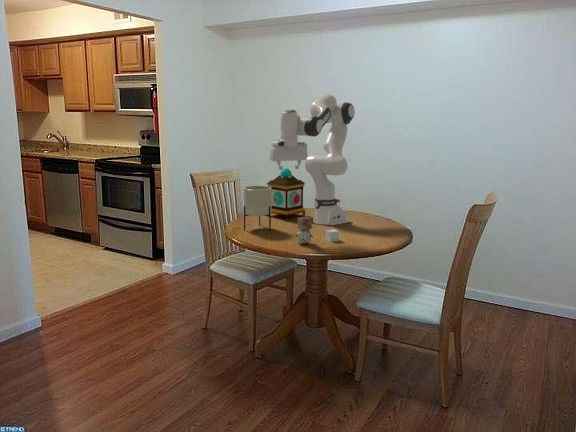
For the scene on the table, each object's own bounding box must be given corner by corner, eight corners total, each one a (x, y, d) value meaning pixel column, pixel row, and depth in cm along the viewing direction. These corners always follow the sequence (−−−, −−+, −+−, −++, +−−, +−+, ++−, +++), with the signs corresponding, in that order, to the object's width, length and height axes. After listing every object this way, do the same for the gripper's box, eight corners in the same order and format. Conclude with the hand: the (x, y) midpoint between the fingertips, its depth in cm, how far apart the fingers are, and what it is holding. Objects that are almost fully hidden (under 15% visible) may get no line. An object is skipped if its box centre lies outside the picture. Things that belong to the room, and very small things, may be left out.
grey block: (333, 238, 239) (334, 229, 238) (338, 240, 234) (339, 231, 233) (325, 239, 237) (325, 230, 235) (330, 242, 232) (330, 232, 231)
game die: (299, 250, 230) (290, 233, 232) (314, 243, 232) (305, 225, 234) (302, 246, 222) (293, 228, 224) (318, 238, 224) (308, 220, 226)
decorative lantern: (263, 216, 289) (262, 167, 282) (284, 211, 303) (285, 165, 296) (286, 221, 275) (287, 170, 269) (308, 216, 290) (309, 167, 283)
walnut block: (306, 226, 230) (306, 216, 229) (311, 228, 226) (311, 218, 225) (297, 227, 228) (297, 217, 227) (302, 229, 224) (302, 219, 223)
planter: (239, 227, 260) (238, 186, 255) (264, 224, 267) (264, 184, 262) (249, 233, 247) (248, 190, 242) (276, 230, 254) (276, 188, 249)
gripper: (304, 141, 246) (304, 167, 249) (268, 142, 237) (268, 169, 240) (309, 142, 240) (309, 169, 243) (273, 143, 231) (273, 170, 234)
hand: (289, 169), depth 241 cm, fingers open, 8 cm apart
